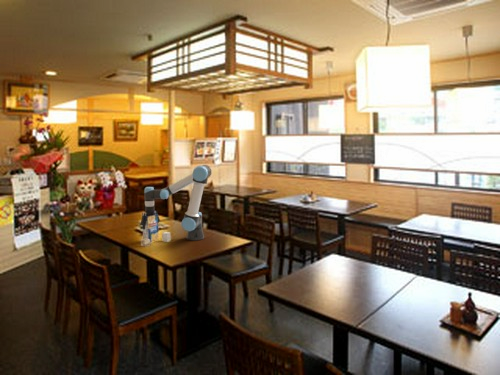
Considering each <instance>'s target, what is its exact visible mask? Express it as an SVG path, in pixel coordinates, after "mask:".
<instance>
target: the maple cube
mask: <svg viewBox="0 0 500 375" xmlns="http://www.w3.org/2000/svg"><path fill="white" fill-rule="evenodd" d="M140 246H141V247H144V248H145V247H146V248H147V247H149V246H151V243H150V239H143V238H142V239H140Z"/></svg>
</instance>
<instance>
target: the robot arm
mask: <svg viewBox="0 0 500 375" xmlns="http://www.w3.org/2000/svg"><path fill="white" fill-rule="evenodd" d="M211 175H212V169H211V167H210V166H208V165H206V164H200V165H198V166H196V167H195V168H194V169H193V170H192V173H190V174H189V175H187V176H185V177H183V178H181V179H179V180H177V181H176V182H174V183H171V184H169V185H168V186H166V187H164V188H162V189H161V188H160V189H154V188H155V187H154V186H146V187H145V188H144V193H143V194H144V211H145V212H142V216H141V219H140V220H141V221H140V226H142V233H143V232H144V233H146V221H144V220H145V215H146V216H151V215H154V214H157V215H158V224H159V223H160V222H161V219H160V216H159V214H158V210H155V200H165V199H166V200H167V199H168V198H169V197H170V196H171V195H173V194H176V193H177V192H179V191H181V190H183V189H185V188H186V187H189V186H190V185H192V189H191V194H190V199H189V203H188V206H187V211H186V212H184V216H183V219H181V220H182V221H181V225H180V226H181V227H182V229H183V230H185V231H186V232H187V233H186V240H187V241H188V240H189V241H200V240H204V239H205V234H204V230H203V214H202V212H200V211H199V210H200V206H201V201H202V196H203V192H204V189H205V186H206V185H207V184H208V179H209V178H210V177H211Z"/></svg>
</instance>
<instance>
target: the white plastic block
mask: <svg viewBox="0 0 500 375" xmlns="http://www.w3.org/2000/svg"><path fill="white" fill-rule="evenodd" d="M161 238H162V239H161V240H162V241H161V242H165V243H168V242H171V240H172V237H171V232H169V231H164V232H162V233H161Z"/></svg>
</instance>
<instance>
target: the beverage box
mask: <svg viewBox="0 0 500 375" xmlns="http://www.w3.org/2000/svg"><path fill="white" fill-rule="evenodd" d="M158 216H159V214H158V215H157V214H155V213H154V215H151V216H146V215H145V220H144V221H146V233H144V232H143V231H142V239H150V244H152V243H154V242H157V241H159V240H160V239H159V238H160V236H159V235H160V234H159V232H160V231H159V223H158Z"/></svg>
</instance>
